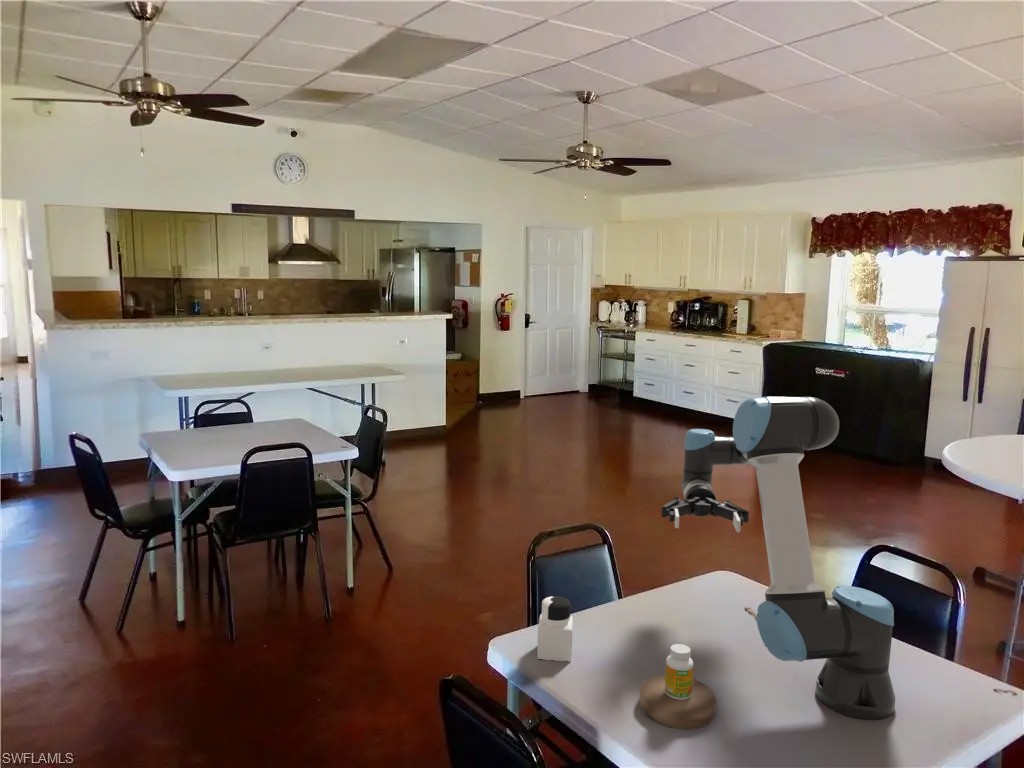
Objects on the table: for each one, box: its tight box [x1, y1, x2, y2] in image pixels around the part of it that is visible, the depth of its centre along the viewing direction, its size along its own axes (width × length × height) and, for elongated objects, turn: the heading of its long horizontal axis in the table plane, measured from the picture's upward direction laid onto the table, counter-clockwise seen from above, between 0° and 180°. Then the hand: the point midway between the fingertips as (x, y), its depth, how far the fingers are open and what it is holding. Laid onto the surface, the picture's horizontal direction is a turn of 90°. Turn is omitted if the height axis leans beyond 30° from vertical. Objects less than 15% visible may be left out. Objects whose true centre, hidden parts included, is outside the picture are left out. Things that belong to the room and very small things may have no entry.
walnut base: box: [639, 673, 717, 730], centre depth 156 cm, size 15×15×3 cm
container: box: [536, 595, 574, 663], centre depth 176 cm, size 8×8×13 cm
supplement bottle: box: [664, 643, 694, 700], centre depth 155 cm, size 5×5×10 cm
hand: (707, 524), depth 174 cm, fingers open, 13 cm apart
